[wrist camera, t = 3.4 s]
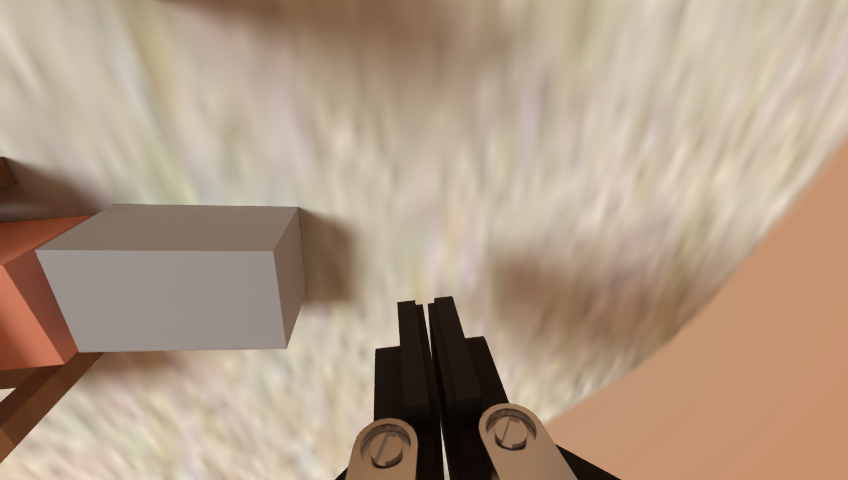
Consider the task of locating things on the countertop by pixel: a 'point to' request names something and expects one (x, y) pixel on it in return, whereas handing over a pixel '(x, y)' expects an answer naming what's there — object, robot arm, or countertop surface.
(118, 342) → the bar
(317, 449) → the countertop surface
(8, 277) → the cube
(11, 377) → the tunnel
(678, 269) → the countertop surface
